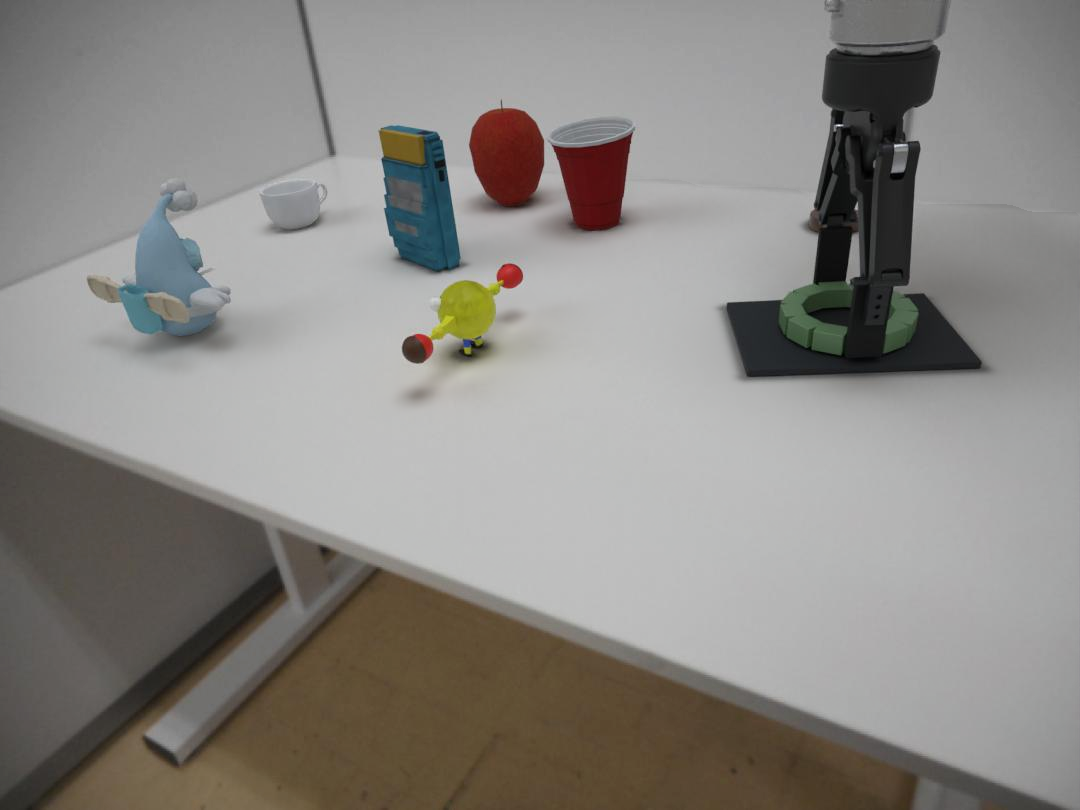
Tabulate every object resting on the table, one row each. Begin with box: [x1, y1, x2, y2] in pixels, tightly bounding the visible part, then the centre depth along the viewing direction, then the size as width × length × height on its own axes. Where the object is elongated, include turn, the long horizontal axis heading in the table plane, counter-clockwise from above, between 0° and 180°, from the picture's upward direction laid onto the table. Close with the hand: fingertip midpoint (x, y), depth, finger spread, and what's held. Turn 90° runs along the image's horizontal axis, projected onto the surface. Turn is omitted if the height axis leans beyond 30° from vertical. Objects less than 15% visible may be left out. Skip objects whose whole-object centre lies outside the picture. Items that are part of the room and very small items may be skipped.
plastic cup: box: [546, 115, 637, 231], centre depth 92 cm, size 11×11×12 cm
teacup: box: [258, 178, 328, 230], centre depth 105 cm, size 10×8×5 cm
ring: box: [779, 280, 919, 355], centre depth 64 cm, size 11×11×2 cm
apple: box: [468, 98, 545, 208], centre depth 102 cm, size 10×10×14 cm
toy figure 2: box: [401, 262, 524, 365], centre depth 67 cm, size 18×6×7 cm, turn 152°
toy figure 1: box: [86, 177, 232, 337], centre depth 74 cm, size 17×10×15 cm, turn 57°
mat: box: [726, 292, 983, 377], centre depth 65 cm, size 18×13×1 cm
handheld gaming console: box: [378, 124, 462, 273], centre depth 85 cm, size 10×4×15 cm, turn 43°
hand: (843, 323), depth 65 cm, fingers closed on ring, 11 cm apart
